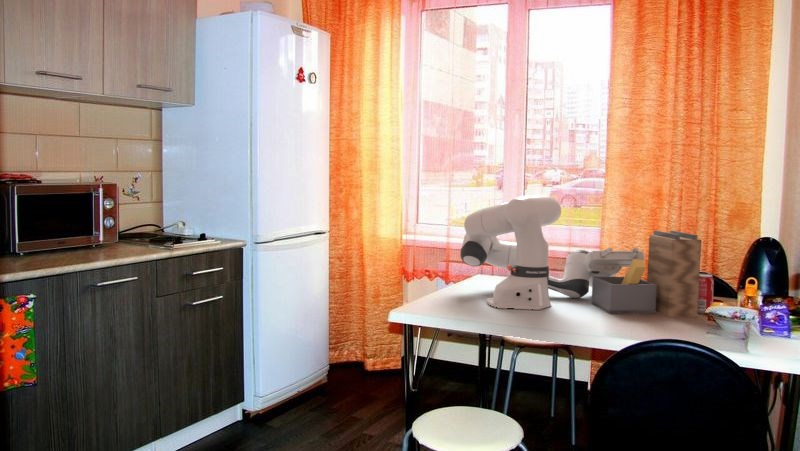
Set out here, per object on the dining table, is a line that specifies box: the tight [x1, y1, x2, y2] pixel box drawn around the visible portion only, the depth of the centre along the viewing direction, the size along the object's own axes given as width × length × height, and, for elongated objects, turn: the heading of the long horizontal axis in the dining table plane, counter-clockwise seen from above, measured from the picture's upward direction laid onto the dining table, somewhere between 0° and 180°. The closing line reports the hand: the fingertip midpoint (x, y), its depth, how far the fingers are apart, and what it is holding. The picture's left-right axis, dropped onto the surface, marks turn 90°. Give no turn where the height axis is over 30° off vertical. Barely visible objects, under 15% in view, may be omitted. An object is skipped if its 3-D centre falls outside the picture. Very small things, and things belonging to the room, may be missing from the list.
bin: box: [591, 276, 657, 315], centre depth 224 cm, size 16×16×10 cm
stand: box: [646, 230, 702, 318], centre depth 219 cm, size 10×16×28 cm, turn 5°
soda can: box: [697, 273, 715, 315], centre depth 221 cm, size 7×7×13 cm
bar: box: [621, 259, 647, 284], centre depth 219 cm, size 4×20×4 cm
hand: (623, 249), depth 224 cm, fingers open, 8 cm apart
